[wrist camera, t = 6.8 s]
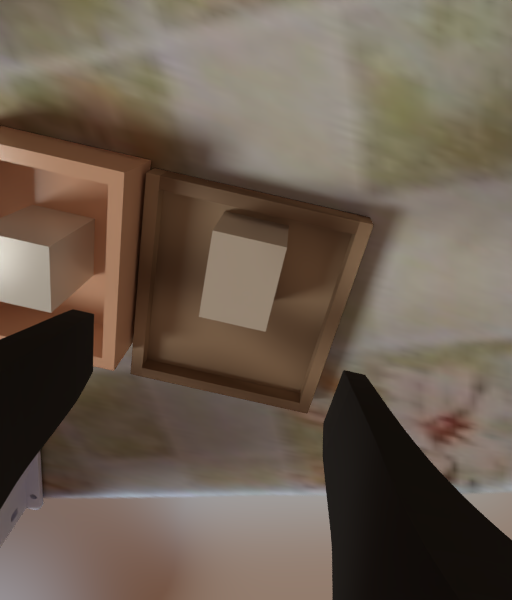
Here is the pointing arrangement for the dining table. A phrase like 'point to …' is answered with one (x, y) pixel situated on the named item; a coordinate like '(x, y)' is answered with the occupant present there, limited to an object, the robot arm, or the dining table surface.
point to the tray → (227, 337)
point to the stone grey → (44, 256)
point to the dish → (90, 203)
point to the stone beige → (243, 270)
